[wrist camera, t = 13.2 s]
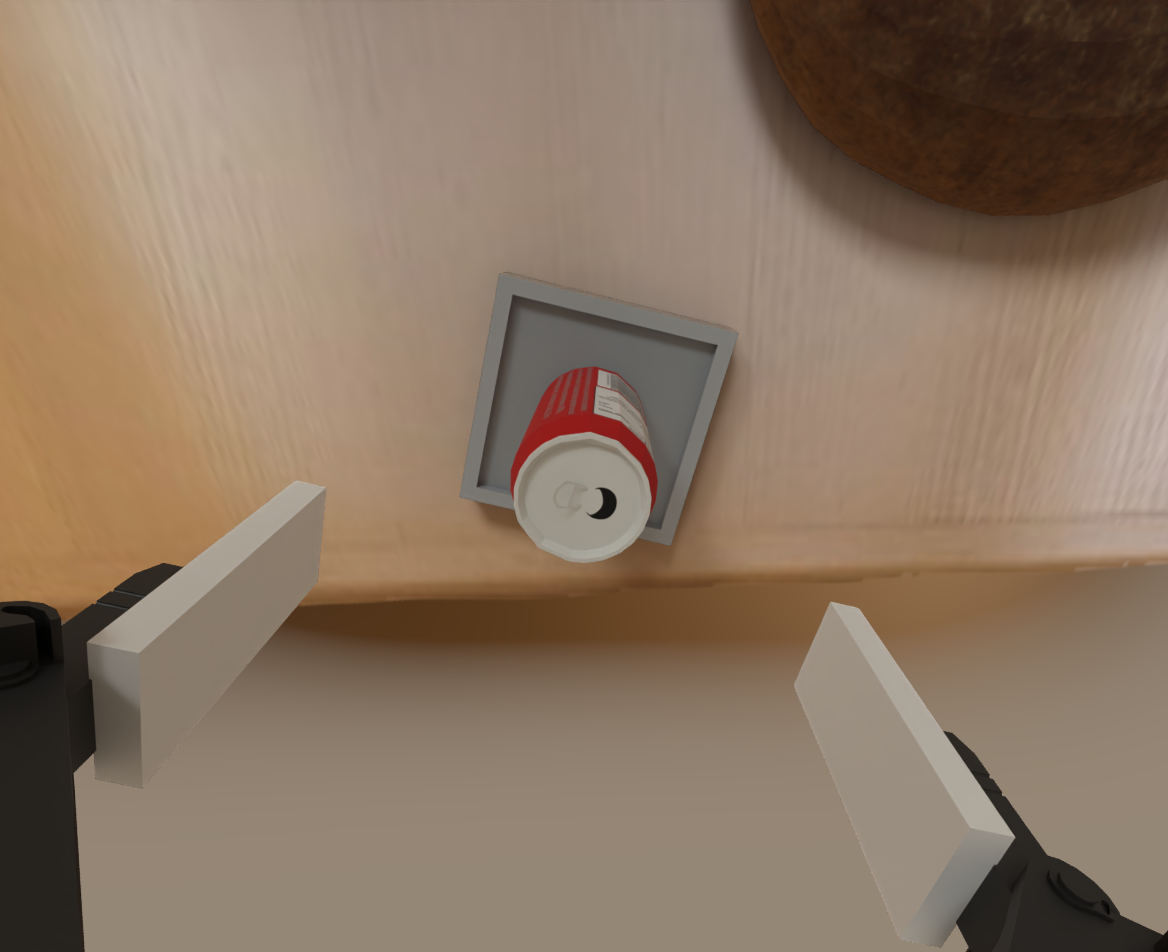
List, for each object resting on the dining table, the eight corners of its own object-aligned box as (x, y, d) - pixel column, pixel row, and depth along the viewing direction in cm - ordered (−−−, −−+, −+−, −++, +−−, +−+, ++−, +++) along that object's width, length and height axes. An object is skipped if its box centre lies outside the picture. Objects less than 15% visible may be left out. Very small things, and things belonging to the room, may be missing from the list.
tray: (467, 483, 36) (459, 497, 34) (505, 272, 32) (499, 273, 30) (667, 529, 37) (670, 545, 35) (730, 327, 33) (738, 333, 31)
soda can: (526, 446, 34) (484, 546, 22) (556, 350, 32) (529, 405, 21) (622, 478, 34) (629, 592, 23) (658, 385, 32) (685, 459, 21)
